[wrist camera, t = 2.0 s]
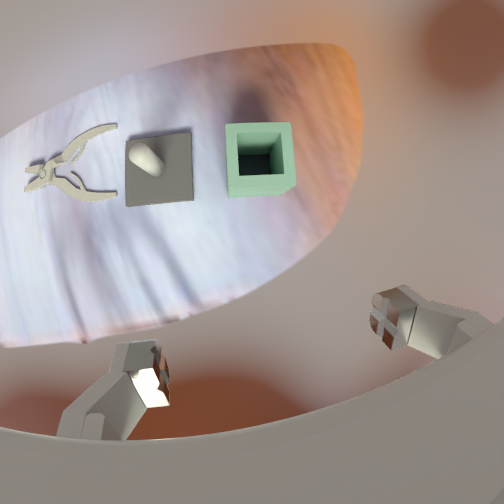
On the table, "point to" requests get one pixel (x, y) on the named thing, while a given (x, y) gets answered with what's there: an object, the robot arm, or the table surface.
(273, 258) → the table surface
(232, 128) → the sleeve
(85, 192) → the pliers
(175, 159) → the post stand
